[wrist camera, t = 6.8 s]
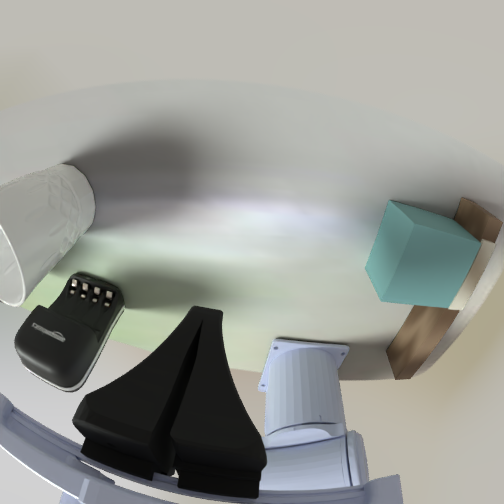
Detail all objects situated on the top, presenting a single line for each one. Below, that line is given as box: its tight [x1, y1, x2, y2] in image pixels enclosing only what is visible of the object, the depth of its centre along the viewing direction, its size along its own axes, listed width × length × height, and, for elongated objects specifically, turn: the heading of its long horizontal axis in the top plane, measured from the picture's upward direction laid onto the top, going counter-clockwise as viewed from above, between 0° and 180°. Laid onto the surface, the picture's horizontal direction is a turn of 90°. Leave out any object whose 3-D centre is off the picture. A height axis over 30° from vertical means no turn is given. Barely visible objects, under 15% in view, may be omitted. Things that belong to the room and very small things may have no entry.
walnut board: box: [386, 198, 503, 380], centre depth 20 cm, size 18×2×4 cm, turn 172°
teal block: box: [365, 200, 481, 308], centre depth 18 cm, size 6×7×4 cm
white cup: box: [0, 164, 96, 307], centre depth 15 cm, size 8×8×10 cm
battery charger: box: [14, 274, 125, 392], centre depth 19 cm, size 7×4×11 cm, turn 77°
